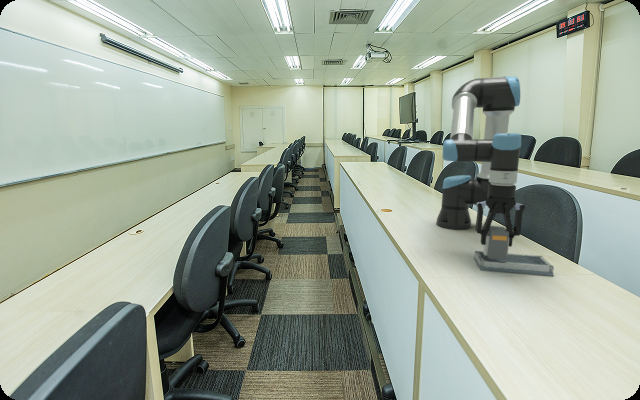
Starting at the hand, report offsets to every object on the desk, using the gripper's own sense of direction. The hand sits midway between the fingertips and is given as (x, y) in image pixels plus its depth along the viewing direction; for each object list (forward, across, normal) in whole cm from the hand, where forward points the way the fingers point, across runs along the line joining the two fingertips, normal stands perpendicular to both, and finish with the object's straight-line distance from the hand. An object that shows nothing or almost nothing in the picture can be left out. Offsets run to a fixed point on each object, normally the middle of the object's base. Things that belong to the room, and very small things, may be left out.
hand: (494, 254), depth 103 cm
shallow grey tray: (+4, +5, 0) cm, 6 cm away
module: (0, 0, 0) cm, 0 cm away
